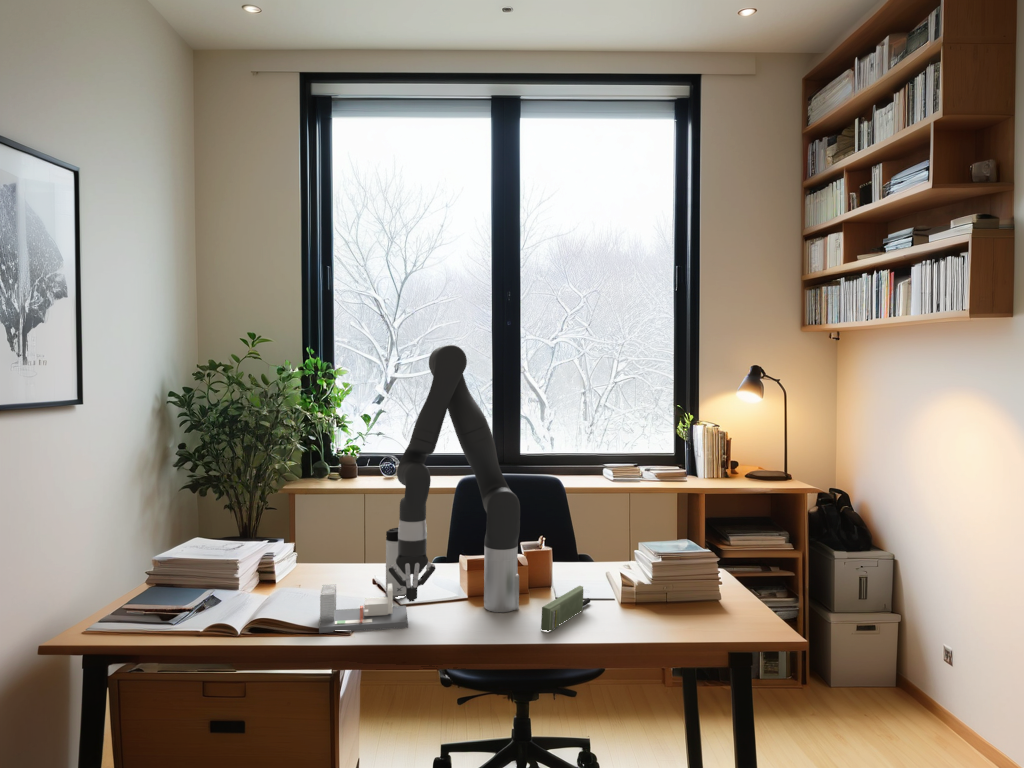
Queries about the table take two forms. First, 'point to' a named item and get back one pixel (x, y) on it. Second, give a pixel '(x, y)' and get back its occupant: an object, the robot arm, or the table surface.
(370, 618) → the gauge base
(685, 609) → the table surface
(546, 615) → the handheld radio
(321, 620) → the grey block
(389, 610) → the white block
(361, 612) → the drag pointer
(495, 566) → the robot arm
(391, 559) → the travel mug
